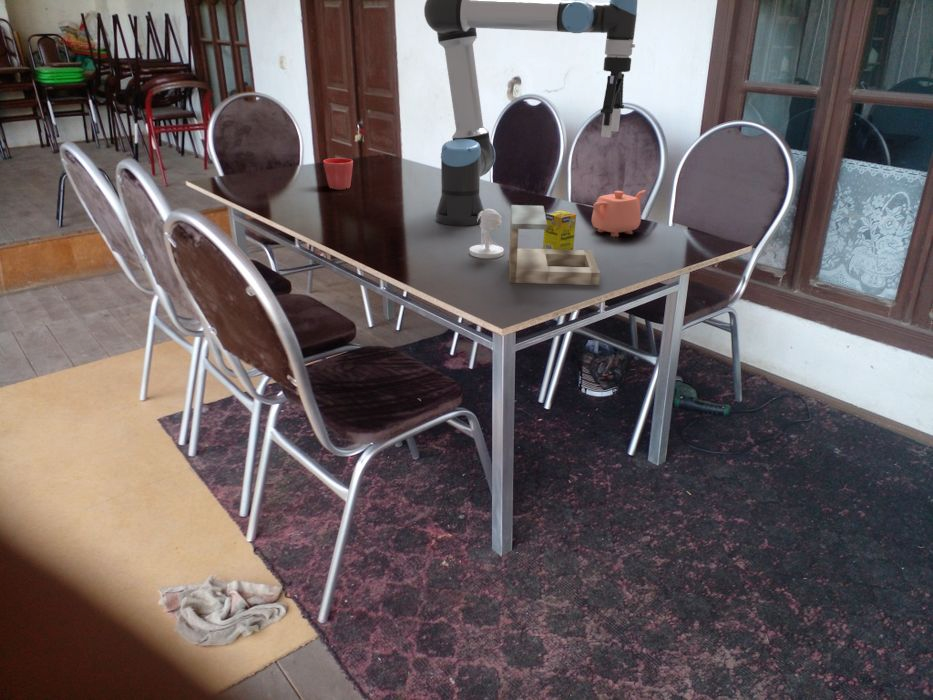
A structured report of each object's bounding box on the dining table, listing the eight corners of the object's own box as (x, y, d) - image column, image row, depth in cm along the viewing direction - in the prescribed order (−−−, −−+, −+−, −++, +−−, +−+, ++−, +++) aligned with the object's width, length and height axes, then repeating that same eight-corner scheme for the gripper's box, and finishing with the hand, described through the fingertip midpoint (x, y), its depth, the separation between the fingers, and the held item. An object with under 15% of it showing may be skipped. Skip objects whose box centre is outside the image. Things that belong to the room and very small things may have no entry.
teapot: (606, 241, 199) (610, 199, 193) (577, 231, 207) (581, 191, 202) (655, 231, 209) (660, 191, 204) (626, 222, 218) (630, 183, 212)
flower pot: (360, 186, 261) (359, 159, 256) (340, 191, 252) (339, 164, 248) (339, 183, 266) (337, 156, 262) (318, 188, 257) (316, 161, 253)
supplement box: (558, 258, 183) (561, 217, 179) (541, 253, 187) (544, 212, 183) (573, 254, 187) (577, 213, 182) (556, 249, 191) (559, 209, 186)
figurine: (468, 248, 191) (468, 204, 186) (501, 248, 191) (502, 204, 186) (471, 258, 182) (471, 213, 177) (505, 258, 183) (507, 212, 178)
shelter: (509, 282, 166) (511, 223, 160) (509, 259, 182) (511, 205, 176) (598, 285, 165) (604, 225, 159) (590, 261, 181) (595, 207, 175)
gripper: (624, 58, 187) (615, 140, 196) (637, 55, 208) (629, 129, 217) (596, 57, 189) (588, 138, 198) (612, 54, 210) (604, 128, 219)
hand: (609, 134), depth 208 cm, fingers open, 13 cm apart
